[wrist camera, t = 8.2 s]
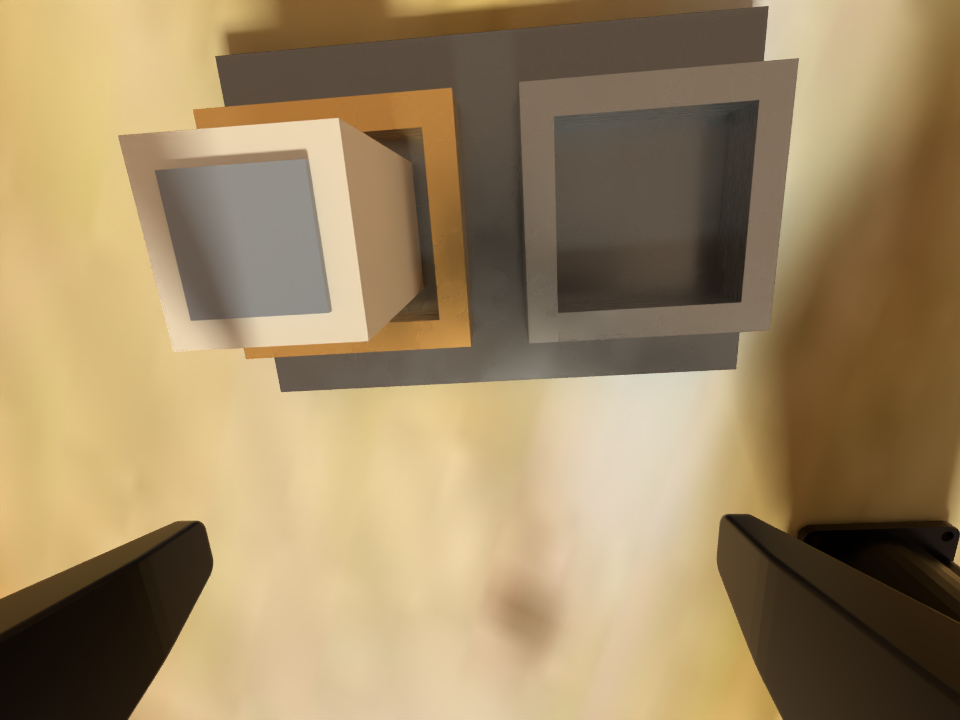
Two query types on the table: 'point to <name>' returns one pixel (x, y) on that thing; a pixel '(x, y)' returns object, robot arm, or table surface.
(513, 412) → the table surface
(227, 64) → the panel
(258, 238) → the plug
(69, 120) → the table surface
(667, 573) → the table surface
